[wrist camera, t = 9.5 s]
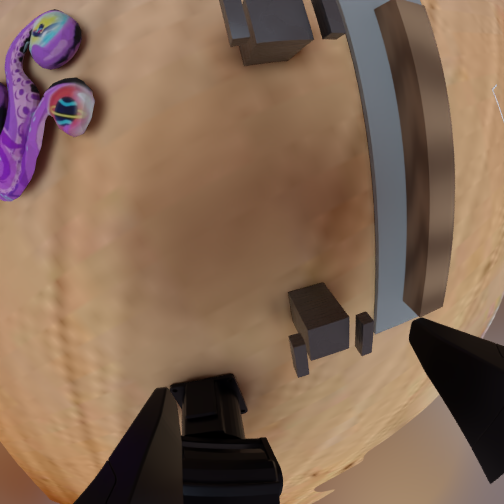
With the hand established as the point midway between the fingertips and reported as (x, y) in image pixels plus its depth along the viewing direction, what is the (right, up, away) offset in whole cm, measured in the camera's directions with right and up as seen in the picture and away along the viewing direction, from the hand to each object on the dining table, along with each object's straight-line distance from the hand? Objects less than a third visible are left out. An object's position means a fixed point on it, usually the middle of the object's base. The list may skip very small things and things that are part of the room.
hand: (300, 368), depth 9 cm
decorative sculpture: (-22, +14, +5) cm, 27 cm away
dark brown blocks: (+3, 0, +14) cm, 15 cm away
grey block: (-1, +18, +6) cm, 19 cm away
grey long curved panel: (+12, +11, +11) cm, 20 cm away
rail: (+12, +11, +10) cm, 19 cm away
